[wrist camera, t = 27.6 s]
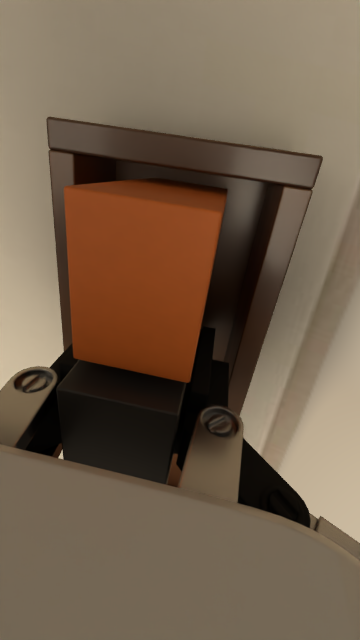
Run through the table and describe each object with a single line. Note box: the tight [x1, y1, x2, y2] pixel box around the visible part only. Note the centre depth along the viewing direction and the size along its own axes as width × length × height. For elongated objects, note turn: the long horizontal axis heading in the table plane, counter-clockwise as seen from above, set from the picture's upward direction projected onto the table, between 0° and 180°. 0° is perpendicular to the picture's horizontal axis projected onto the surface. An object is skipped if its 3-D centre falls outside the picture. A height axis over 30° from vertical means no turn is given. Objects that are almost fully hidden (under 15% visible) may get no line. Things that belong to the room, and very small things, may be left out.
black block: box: [56, 360, 186, 485], centre depth 11 cm, size 3×4×7 cm
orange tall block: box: [64, 177, 228, 383], centre depth 9 cm, size 3×4×7 cm
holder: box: [47, 117, 323, 487], centre depth 15 cm, size 22×8×4 cm, turn 173°
